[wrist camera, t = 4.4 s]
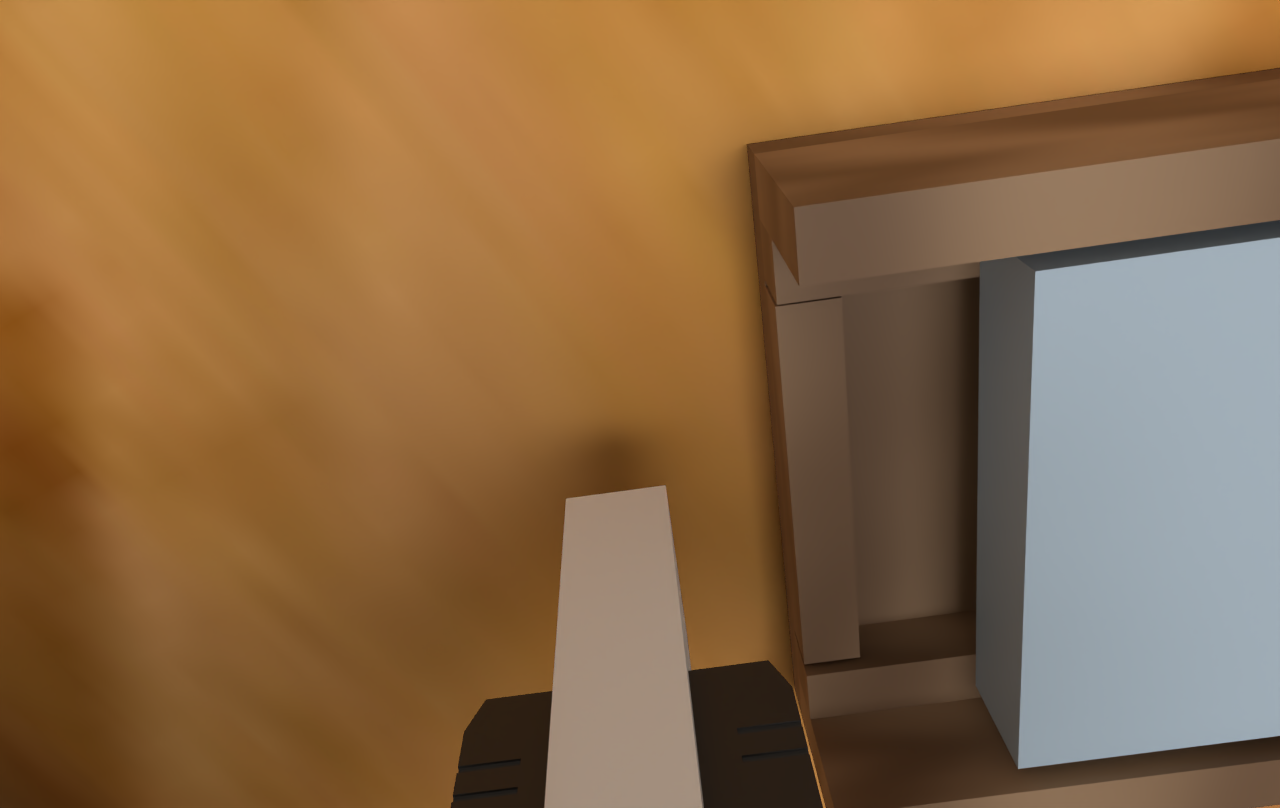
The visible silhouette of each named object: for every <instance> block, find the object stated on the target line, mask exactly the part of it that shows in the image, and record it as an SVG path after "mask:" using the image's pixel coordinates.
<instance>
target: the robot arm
mask: <svg viewBox="0 0 1280 808" xmlns="http://www.w3.org/2000/svg"><path fill="white" fill-rule="evenodd" d="M458 769H459V773H457V775H456V781H455V787H454V792H453V802H452V803H451V808H823V806H822V802H821V798H820V794H819V790H818V786H817V782H816V778H815V774H814V770H813V766H812V763H811V759H810V755H809V753H808V747H807V743H806V739H805V735H804V731H803V727H802V725H801V719H800V715H799V711H798V707H797V704H796V700H795V696H794V692H793V688H792V686H791V685H790V684H789V683H788V682H787V681H786V679H785V678H784V677H783V676H782V675H781V674H780V673H779V672H778V671H777V670H776V668H775V667H774V666H773V665H772V664H771V663H770V662H769V661H760V662H753V663H745V664H737V665H729V666H722V667H714V668H706V669H698V670H691V664H690V656H689V648H688V639H687V631H686V624H685V617H684V610H683V603H682V596H681V589H680V582H679V575H678V568H677V561H676V554H675V547H674V540H673V533H672V526H671V519H670V512H669V505H668V498H667V491H666V485H663V486H656V487H648V488H641V489H634V490H626V491H619V492H611V493H604V494H596V495H589V496H581V497H574V498H567V499H566V506H565V520H564V534H563V548H562V563H561V577H560V591H559V605H558V620H557V634H556V648H555V662H554V677H553V691H549V692H541V693H533V694H526V695H518V696H510V697H502V698H495V699H487V700H486V701H485V702H484V704H483V705H482V706H481V708H480V709H479V711H478V712H477V714H476V715H475V717H474V718H473V720H472V721H471V723H470V724H469V726H468V727H467V729H466V730H465V731H464V736H463V742H462V747H461V753H460V759H459V764H458Z"/></svg>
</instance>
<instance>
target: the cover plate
mask: <svg viewBox="0 0 1280 808" xmlns="http://www.w3.org/2000/svg"><path fill="white" fill-rule="evenodd" d="M976 687H977V689H978V691H979V693H980V695H981V697H982V699H983V701H984V703H985V705H986V707H987V709H988V711H989V713H990V715H991V717H992V719H993V721H994V723H995V725H996V727H997V729H998V731H999V732H1000V734H1001V736H1002V738H1003V740H1004V742H1005V744H1006V746H1007V748H1008V750H1009V752H1010V754H1011V756H1012V758H1013V760H1014V762H1015V764H1016V766H1017V768H1018V769H1022V768H1030V767H1038V766H1046V765H1054V764H1062V763H1069V762H1077V761H1085V760H1093V759H1101V758H1109V757H1117V756H1125V755H1133V754H1140V753H1148V752H1156V751H1164V750H1172V749H1180V748H1188V747H1196V746H1204V745H1211V744H1219V743H1227V742H1235V741H1243V740H1251V739H1259V738H1267V737H1275V736H1280V220H1276V221H1268V222H1261V223H1254V224H1247V225H1240V226H1232V227H1225V228H1218V229H1211V230H1204V231H1197V232H1189V233H1182V234H1175V235H1168V236H1161V237H1154V238H1146V239H1139V240H1132V241H1125V242H1118V243H1110V244H1103V245H1096V246H1089V247H1082V248H1075V249H1067V250H1060V251H1053V252H1046V253H1039V254H1032V255H1024V256H1017V257H1010V258H1003V259H996V260H988V261H981V262H980V301H979V399H978V496H977V593H976Z"/></svg>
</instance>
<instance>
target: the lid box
mask: <svg viewBox="0 0 1280 808" xmlns="http://www.w3.org/2000/svg"><path fill="white" fill-rule="evenodd" d="M747 149H748V160H749V172H750V183H751V195H752V206H753V218H754V229H755V240H756V252H757V263H758V275H759V286H760V298H761V309H762V320H763V332H764V343H765V355H766V366H767V378H768V389H769V400H770V412H771V423H772V435H773V446H774V457H775V469H776V480H777V492H778V503H779V515H780V526H781V537H782V549H783V560H784V572H785V583H786V595H787V606H788V617H789V629H790V640H791V652H792V663H793V675H794V686H795V691H796V695H797V699H798V703H799V706H800V710H801V714H802V718H803V722H804V726H805V729H806V733H807V737H808V741H809V745H810V749H811V752H812V756H813V760H814V764H815V768H816V772H817V775H818V779H819V783H820V787H821V791H822V795H823V798H824V802H825V806H826V808H1256V807H1264V806H1272V805H1280V736H1275V737H1267V738H1259V739H1251V740H1243V741H1235V742H1227V743H1219V744H1211V745H1204V746H1196V747H1188V748H1180V749H1172V750H1164V751H1156V752H1148V753H1140V754H1133V755H1125V756H1117V757H1109V758H1101V759H1093V760H1085V761H1077V762H1069V763H1062V764H1054V765H1046V766H1038V767H1030V768H1022V769H1018V768H1017V766H1016V764H1015V762H1014V760H1013V758H1012V756H1011V754H1010V752H1009V750H1008V748H1007V746H1006V744H1005V742H1004V740H1003V738H1002V736H1001V734H1000V732H999V731H998V729H997V727H996V725H995V723H994V721H993V719H992V717H991V715H990V713H989V711H988V709H987V707H986V705H985V703H984V701H983V699H982V697H981V695H980V693H979V691H978V689H977V687H976V593H977V496H978V399H979V301H980V262H981V261H988V260H996V259H1003V258H1010V257H1017V256H1024V255H1032V254H1039V253H1046V252H1053V251H1060V250H1067V249H1075V248H1082V247H1089V246H1096V245H1103V244H1110V243H1118V242H1125V241H1132V240H1139V239H1146V238H1154V237H1161V236H1168V235H1175V234H1182V233H1189V232H1197V231H1204V230H1211V229H1218V228H1225V227H1232V226H1240V225H1247V224H1254V223H1261V222H1268V221H1276V220H1280V68H1277V69H1270V70H1263V71H1256V72H1249V73H1242V74H1235V75H1228V76H1221V77H1214V78H1207V79H1200V80H1193V81H1186V82H1179V83H1172V84H1165V85H1158V86H1151V87H1144V88H1137V89H1130V90H1123V91H1116V92H1109V93H1102V94H1095V95H1088V96H1081V97H1074V98H1067V99H1060V100H1053V101H1046V102H1039V103H1032V104H1025V105H1018V106H1011V107H1004V108H997V109H990V110H983V111H976V112H969V113H962V114H955V115H949V116H942V117H935V118H928V119H921V120H914V121H907V122H900V123H893V124H886V125H879V126H872V127H865V128H858V129H851V130H844V131H837V132H830V133H823V134H816V135H809V136H802V137H795V138H788V139H781V140H774V141H767V142H760V143H753V144H747Z"/></svg>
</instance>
